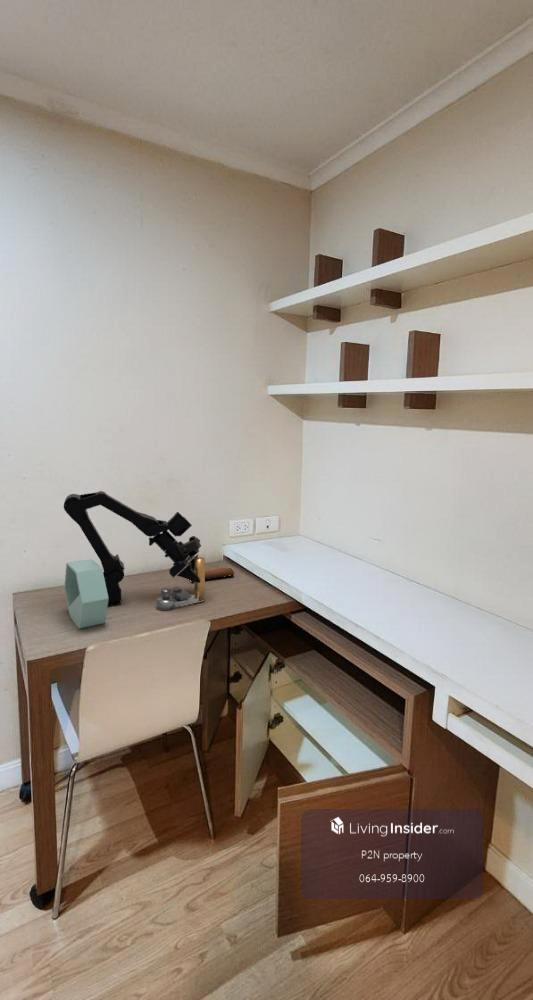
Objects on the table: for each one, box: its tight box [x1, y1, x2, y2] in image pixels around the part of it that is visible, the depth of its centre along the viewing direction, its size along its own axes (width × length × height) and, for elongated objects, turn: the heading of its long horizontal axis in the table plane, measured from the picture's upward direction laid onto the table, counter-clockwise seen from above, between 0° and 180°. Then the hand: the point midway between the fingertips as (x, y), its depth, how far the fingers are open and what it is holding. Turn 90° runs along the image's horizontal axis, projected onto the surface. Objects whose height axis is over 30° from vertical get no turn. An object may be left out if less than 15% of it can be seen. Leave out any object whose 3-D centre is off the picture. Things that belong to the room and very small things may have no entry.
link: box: [156, 556, 206, 611], centre depth 170 cm, size 17×6×15 cm, turn 121°
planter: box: [63, 558, 109, 629], centre depth 156 cm, size 17×8×21 cm
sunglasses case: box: [205, 566, 235, 580], centre depth 199 cm, size 18×7×7 cm
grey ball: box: [160, 587, 172, 600], centre depth 168 cm, size 3×3×3 cm
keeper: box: [171, 586, 192, 600], centre depth 173 cm, size 4×8×4 cm, turn 38°
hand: (201, 579), depth 174 cm, fingers open, 6 cm apart
